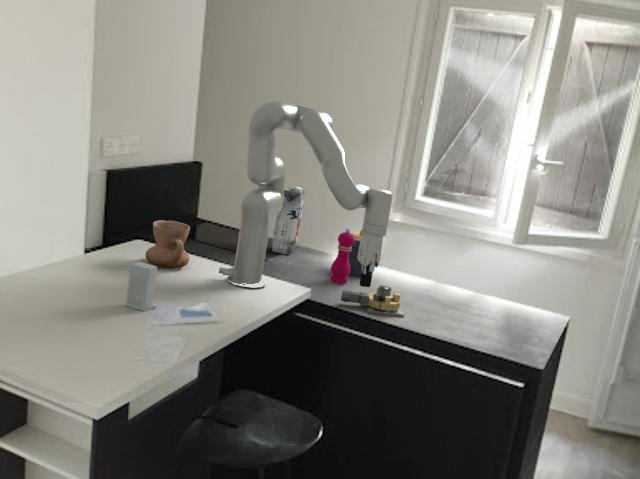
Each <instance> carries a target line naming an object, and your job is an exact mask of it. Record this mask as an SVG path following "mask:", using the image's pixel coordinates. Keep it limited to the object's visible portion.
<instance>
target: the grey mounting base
mask: <svg viewBox="0 0 640 479" xmlns="http://www.w3.org/2000/svg"><path fill="white" fill-rule="evenodd" d="M378 288H379V291H378V294H380V295H381V300H380V301H384V296H391V294H392V293H391V292H392V288H391V287H390V286H388V285H384V284H383V285H379V287H378ZM361 306H362V307H363V308H364V310H365V311H366V312H367V314H371V315H380V316H381V315H382V316H387V317H388V316H390V317H398V318H404V316H405V314H404V312H403V311H402V309H400V308H399V309H397V310H394V311H388V310H380V309H377V308H374V307H372V306H369V305H364V304H361Z"/></svg>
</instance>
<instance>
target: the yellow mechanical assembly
mask: <svg viewBox="0 0 640 479" xmlns="http://www.w3.org/2000/svg"><path fill="white" fill-rule="evenodd" d="M378 291H379V287H377V289H376V292H369V293H367V292H361V291H357V292H356V291H351V290H349V291H348V290H341V295H340V301H341V302H345V303H353V304H354V303H355V304H359V305H362V304H364V305H369V306H372V307H374V308H377V309H380V310H388V311H394V310H397V309H400V306H401V301H400V300H401V299H400V298H401V294H400V293H397V292H394V293H393V295H390V296H384V301H380V300H381V295H380V294H378Z"/></svg>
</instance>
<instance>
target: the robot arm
mask: <svg viewBox="0 0 640 479" xmlns="http://www.w3.org/2000/svg"><path fill="white" fill-rule="evenodd" d="M249 120H250V121H249V128H248V132H249V133H248V149H247V163H246V164H247V165H246V174H247V178H248V180H249V181H250V182H251V183H252V184H254V185H257V188H256V189H252V190H250V191H248V192H247V193H246V194H245V195H244V197H243V198H242V200H241V204H240V223H239V224H240V225H239V230H238V231H239V232H238V239H237V245H236V252H235V258H234V264H233V265H232V266H231V267H229V268H227V267H219V268H218V273H219V274H222V275H223V276H227V278H226V280H227V279H228V280H229V281H231V282H233V283H237V284H241V283H242V284H243V283H246V284H255V283H259V282H260V281H261V279H262V277H263V276H262V275H263V271H264V266H265V258H266V253H267V246H268V241H269V235H270V234H269V233H270V217H272V216H273V215H277V213H278V212H279V211H280V209H281V208H282V205H283V200H284V189H285V182H286V168H285V164H284V162H283V160H282V159H281V158H280V157H279V156H277V155H276V137H275V131H277V130H289V131H293V132H296V133H299V134H301V135H302V136H303V137H304V140H305V141H306V142H307V144H308V146H309V148H310V149H311V151H312V153H313V154H314V155H315V156H314V157H315V158H316V160H317V161H318V162H319V165H320V168H321V172H322V174H323V177H324V180H325V183H326V184H327V188H329V190H330V192H331V193H332V195H333V197H334V198H335V201H337V203H338V205H339V206H340V207H342V209H344V210H347V211H354V210H357V209H365V210H364V216H363V220H362V221H363V223H362V227H361V230H362V232H363V234H362V237H361V241H360V246H359V251H358V256H357V259H358V261H359V262H360V263H361V264H362V271H361V272H363V273H361V277H360V278H359V283H358V284H359V286H360V287H363V288H371V285H372V279H373V273H374V272H375V268H378V267H380V266H379V265H380V261H381V257H382V250H383V243H384V242H383V240H384V237H386V236H387V230H388V226H389V219H390V215H391V214H390V213H391V208H392V203H393V202H392V201H393V198H394V197H393V193H392V191H390V190H387V189H383V188H376V187H375V188H374V187H371V186H369V185H365V184H362V183H355V181H354V180H353V179H352V177H351V176H350V174H349V172H348V169H347V166H346V163H345V150H344V148H343V147H342V144H341V143H340V141H339V139H338V138H337V136H336V135H335V133H334V131H333V128H334V123H333V119H332V118H331V116H330V115H329V114H328V113H326V112H325V111H321V110H316V109H314V108H313V109H312V108H308V107H306V106H302V105H299V104H295V103H291V102H284V101H270V102H267V103H264V104H262V105H261V106H259V107H258V108H257V109H256V110H254V112H253V114H252V115H251V118H250V119H249ZM243 285H245V284H243Z"/></svg>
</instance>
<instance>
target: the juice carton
mask: <svg viewBox="0 0 640 479" xmlns="http://www.w3.org/2000/svg"><path fill="white" fill-rule="evenodd" d="M305 194H306V191H305V190H303V188H302V187H299V186H296V187H295V188H292V187H285V188H284V200H283V205H282V208H281V209H280V211H279V212H278V213H276V219H275V226H274V231H273V238H272V243H271V244H272V245H271V246H272V247H271V248H272V252H273V253H279V254H283V255H287V256H290V255H291V254H292V253H293V252H294V251H295V248H296V246H297V243H298V238H299V233H300V226H301V221H302V215H303V209H304V205H305V204H304V202H305Z"/></svg>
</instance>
